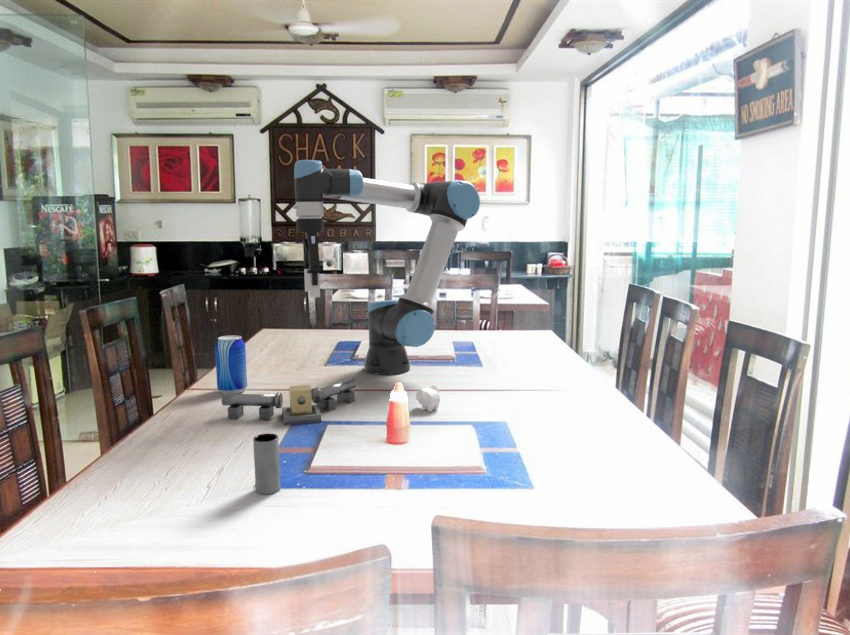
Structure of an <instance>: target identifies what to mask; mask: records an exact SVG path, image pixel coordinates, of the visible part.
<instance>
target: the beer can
mask: <svg viewBox="0 0 850 635" xmlns="http://www.w3.org/2000/svg"><path fill="white" fill-rule="evenodd" d="M242 338H243V337H242V336H241V335H234V334H233V335H222V336H219V337H217V341H216V343H215V345H214V351H215V352H214V354H215V369H216V370H215V372H216V388H217V390H218V391H219V393H220V394H222V395H223V394H243V393H244V392H245V391H246V389H247V387H248V374H247V371H248V370H247V353H246V343H245V342H244V340H243V339H242Z"/></svg>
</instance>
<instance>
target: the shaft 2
mask: <svg viewBox="0 0 850 635" xmlns="http://www.w3.org/2000/svg"><path fill="white" fill-rule="evenodd" d="M357 383H358V382H357V380H356V379H355V378H353V377H351V378H348V379H345V380H342V381H339V382H336V383H335V382H334V383H332V384H328V385H326V386H323V387H314V388H311V395H312V403H313V404H315V405H317V406H318V408H319V410H320V409H321V410H320V411H325V412H331V411H335V410H336V402H338V403H343V404H348V405H350V404H353V403H355V400H356V396H355V394H356V393H355V391H354V389H356V388H357V385H358V384H357ZM333 396H336V398H334V397H333Z"/></svg>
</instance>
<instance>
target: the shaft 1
mask: <svg viewBox="0 0 850 635" xmlns="http://www.w3.org/2000/svg"><path fill="white" fill-rule="evenodd" d="M283 398H284V397H283V394H282V392H276V394H275V393H274V394H272V393H271V394H269V393H267V394H264V393H239V394H222V396H221V400H220V401H221V405H222V406H225V407H226V406H228V407H227V419H228V420H239V419H240V418H241V417H242V416H243V415H245V414H244V411H245V410H244V407H258V417H259V421H270V419H271V418H272V417H273V416H275V411H274V410H275V409H282V408H283V403H284V402H283V400H284V399H283ZM274 407H275V408H274Z"/></svg>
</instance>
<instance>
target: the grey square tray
mask: <svg viewBox="0 0 850 635" xmlns="http://www.w3.org/2000/svg"><path fill="white" fill-rule="evenodd" d="M281 414H282V420H283V425H284V426H290V425H301V424H311V422H313V423H321V422H322V414H321V410H320V409H319V408H318V406H317V404H312V414H311V415H299V416H291V413H290V406H287V407H286V406H285V407H283V406H282V407H281Z"/></svg>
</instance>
